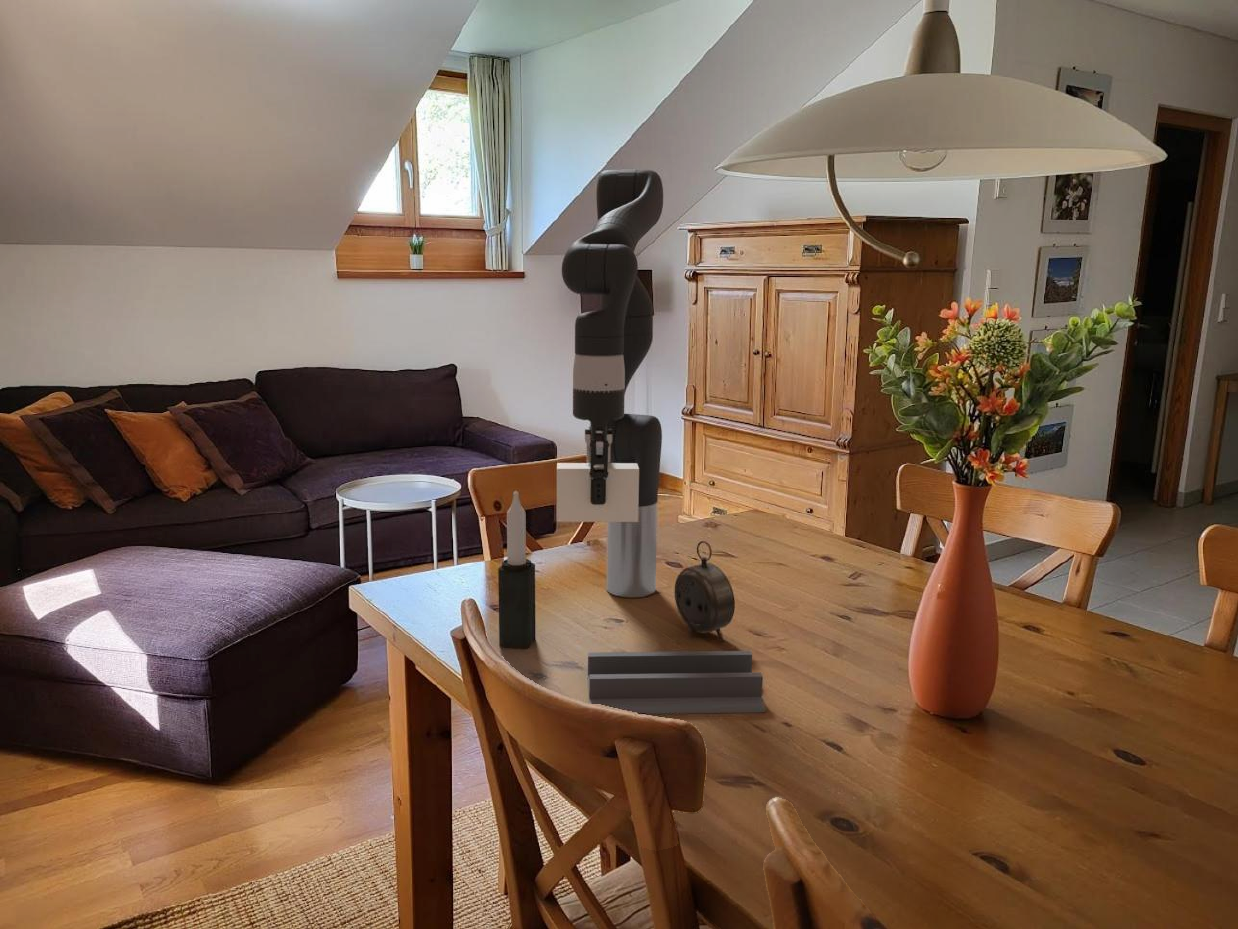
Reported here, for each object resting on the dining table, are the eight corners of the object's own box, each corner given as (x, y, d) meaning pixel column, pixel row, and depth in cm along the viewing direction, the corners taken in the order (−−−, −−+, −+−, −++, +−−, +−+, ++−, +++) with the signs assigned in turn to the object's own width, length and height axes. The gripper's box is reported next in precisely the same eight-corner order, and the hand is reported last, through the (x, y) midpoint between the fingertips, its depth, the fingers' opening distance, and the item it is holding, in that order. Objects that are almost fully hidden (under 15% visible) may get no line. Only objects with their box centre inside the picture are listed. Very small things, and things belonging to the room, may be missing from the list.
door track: (587, 670, 138) (587, 645, 137) (745, 668, 140) (747, 643, 139) (589, 714, 124) (590, 687, 124) (765, 712, 126) (766, 685, 125)
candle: (528, 649, 145) (526, 496, 140) (497, 646, 146) (494, 494, 141) (537, 637, 150) (536, 488, 145) (507, 634, 151) (505, 486, 146)
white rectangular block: (557, 514, 139) (557, 463, 138) (636, 514, 140) (637, 463, 138) (556, 521, 135) (556, 468, 134) (638, 521, 136) (639, 468, 134)
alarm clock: (735, 643, 149) (739, 546, 146) (709, 650, 146) (713, 552, 143) (692, 621, 158) (695, 530, 154) (667, 628, 155) (669, 535, 151)
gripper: (627, 392, 127) (625, 512, 130) (621, 379, 141) (620, 489, 144) (573, 391, 126) (572, 512, 130) (572, 379, 140) (572, 489, 144)
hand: (597, 499), depth 137 cm, fingers closed on white rectangular block, 4 cm apart
